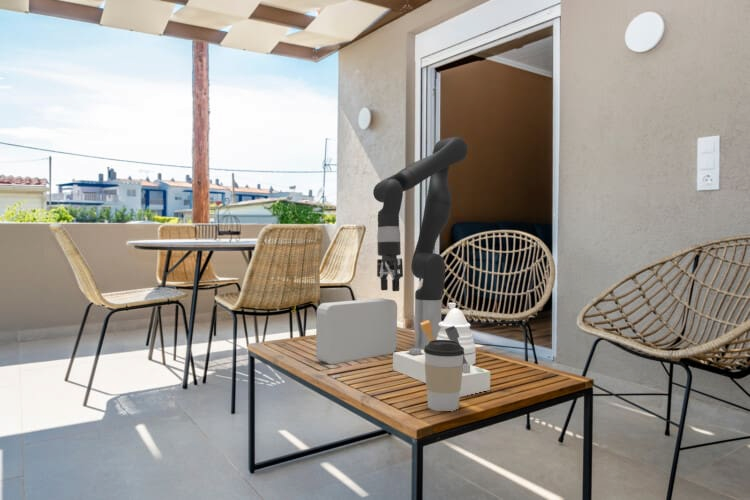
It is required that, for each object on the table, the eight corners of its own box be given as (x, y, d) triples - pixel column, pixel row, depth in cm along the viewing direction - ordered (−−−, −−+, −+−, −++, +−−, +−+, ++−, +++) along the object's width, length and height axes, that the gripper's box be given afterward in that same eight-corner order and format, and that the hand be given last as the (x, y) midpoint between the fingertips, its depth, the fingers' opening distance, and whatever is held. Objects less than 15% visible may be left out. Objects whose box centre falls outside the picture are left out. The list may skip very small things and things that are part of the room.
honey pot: (426, 358, 160) (427, 302, 160) (458, 355, 166) (459, 300, 165) (449, 368, 148) (450, 307, 148) (484, 363, 154) (485, 305, 154)
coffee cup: (419, 400, 118) (420, 336, 117) (457, 400, 119) (458, 336, 118) (427, 413, 109) (428, 345, 108) (468, 413, 110) (469, 344, 109)
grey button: (416, 357, 147) (416, 347, 147) (423, 360, 144) (423, 349, 144) (406, 359, 145) (406, 348, 145) (413, 361, 142) (413, 351, 142)
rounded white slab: (382, 348, 174) (382, 297, 173) (396, 353, 168) (397, 299, 167) (311, 360, 155) (312, 302, 155) (325, 365, 150) (326, 305, 149)
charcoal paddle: (468, 365, 129) (453, 325, 128) (472, 369, 125) (456, 328, 125) (460, 368, 129) (444, 329, 128) (463, 372, 125) (447, 331, 125)
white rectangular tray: (420, 365, 151) (420, 342, 151) (489, 390, 126) (490, 363, 126) (392, 369, 145) (393, 345, 145) (459, 397, 121) (460, 368, 121)
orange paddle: (442, 357, 138) (428, 319, 137) (444, 360, 134) (430, 322, 134) (434, 360, 137) (420, 323, 137) (436, 363, 134) (421, 325, 134)
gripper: (409, 240, 159) (410, 291, 159) (389, 242, 172) (390, 289, 172) (388, 239, 156) (389, 292, 156) (369, 242, 169) (370, 290, 169)
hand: (389, 290), depth 164 cm, fingers open, 8 cm apart
